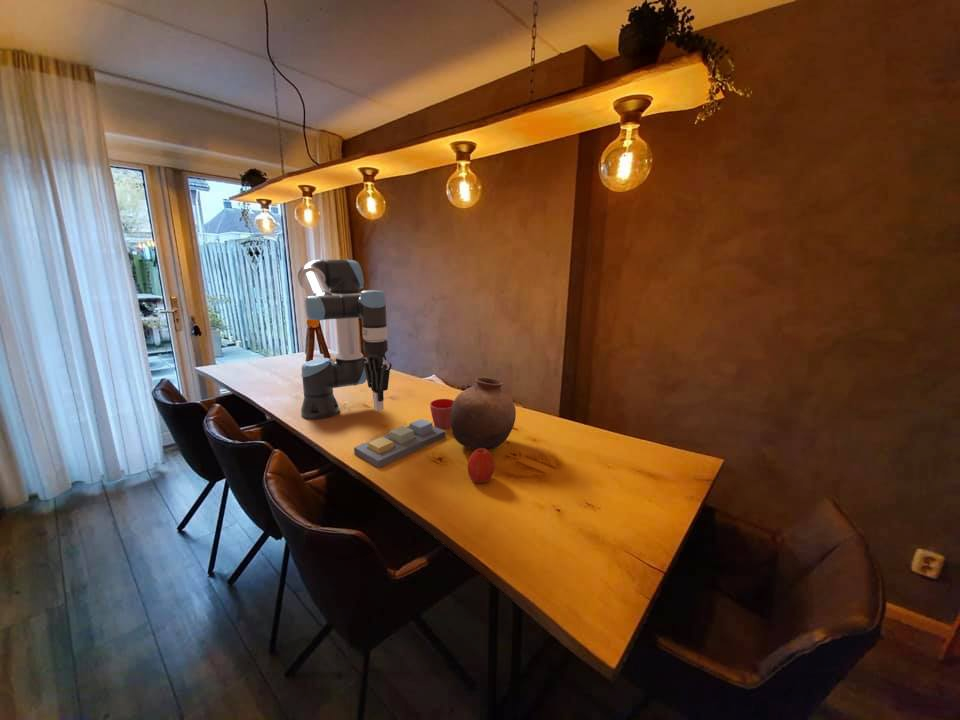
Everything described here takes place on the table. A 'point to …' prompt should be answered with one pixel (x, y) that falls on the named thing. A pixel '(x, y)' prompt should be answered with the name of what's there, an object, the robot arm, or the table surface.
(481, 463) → the red oval body
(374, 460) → the button board
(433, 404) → the flower pot
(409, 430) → the sage button
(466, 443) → the pottery
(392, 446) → the ochre button
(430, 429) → the blue button
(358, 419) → the table surface
